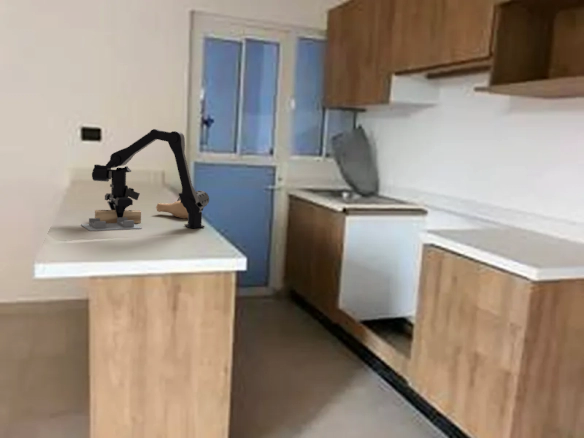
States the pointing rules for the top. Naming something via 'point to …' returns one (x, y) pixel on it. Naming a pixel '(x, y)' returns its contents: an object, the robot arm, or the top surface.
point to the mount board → (110, 224)
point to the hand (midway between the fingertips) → (118, 219)
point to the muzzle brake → (201, 198)
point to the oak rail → (112, 217)
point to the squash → (173, 209)
